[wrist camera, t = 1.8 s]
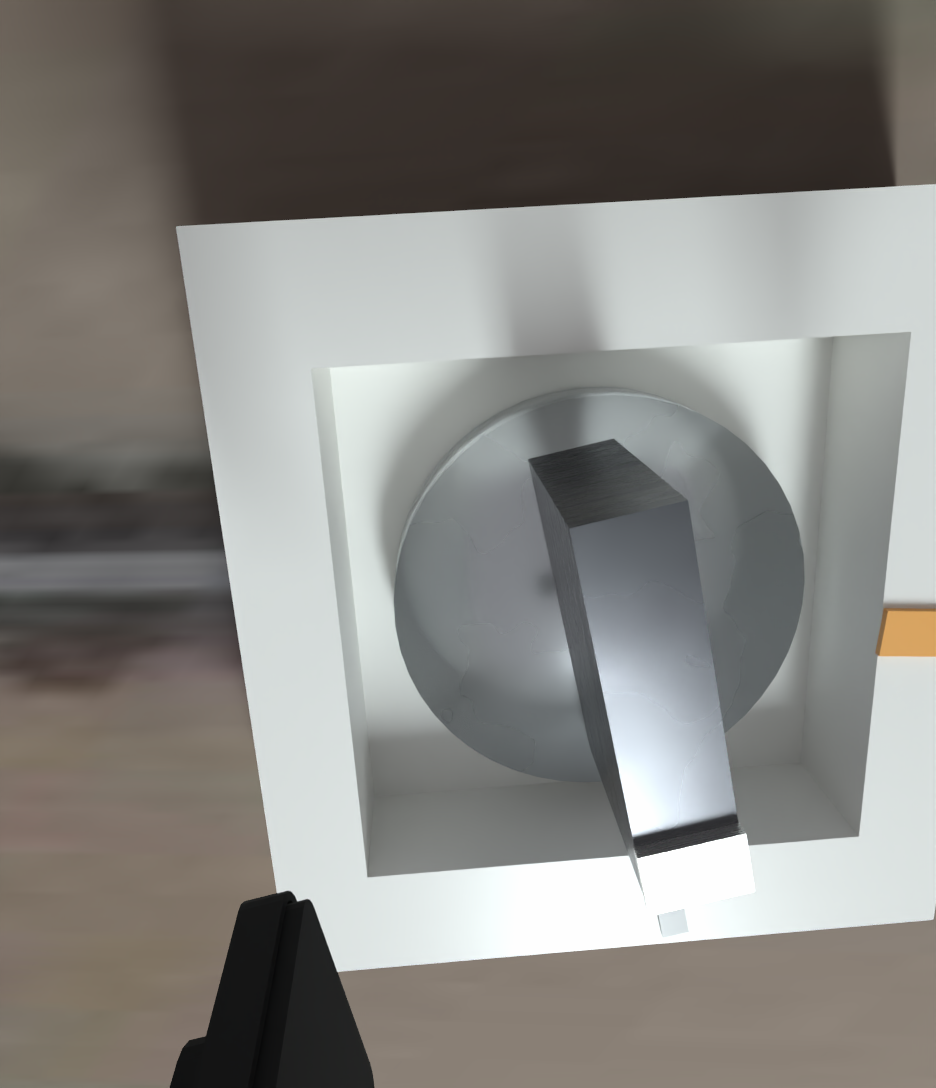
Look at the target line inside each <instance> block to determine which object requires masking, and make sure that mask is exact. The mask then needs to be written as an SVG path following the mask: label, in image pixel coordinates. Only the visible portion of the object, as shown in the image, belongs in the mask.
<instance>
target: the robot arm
mask: <svg viewBox="0 0 936 1088" xmlns="http://www.w3.org/2000/svg"><path fill="white" fill-rule="evenodd" d="M170 1088H374V1080H373V1074H372V1069H371V1066H370V1062H369V1059H368V1056H367V1054H366V1051H365V1048H364V1045H363V1042H362V1040H361V1037H360V1034H359V1031H358V1028H357V1026H356V1023H355V1020H354V1017H353V1014H352V1012H351V1009H350V1006H349V1003H348V1000H347V998H346V995H345V992H344V989H343V986H342V984H341V981H340V978H339V975H338V972H337V970H336V967H335V964H334V961H333V958H332V956H331V953H330V950H329V947H328V945H327V942H326V939H325V936H324V933H323V931H322V928H321V925H320V922H319V919H318V917H317V914H316V911H315V908H314V906H313V904H312V902H311V901H310V900H309V899H305V900H301V901H297V900H296V897H295V895H294V894H293V893H292V892H291V891H284V892H280V893H276V894H272V895H268V896H264V897H260V898H256V899H252V900H248V901H244V902H243V903H242V904H241V906H240V908H239V911H238V915H237V919H236V923H235V926H234V930H233V934H232V938H231V942H230V946H229V950H228V953H227V957H226V961H225V965H224V969H223V973H222V977H221V981H220V984H219V988H218V992H217V996H216V1000H215V1004H214V1008H213V1011H212V1015H211V1019H210V1023H209V1027H208V1031H207V1035H206V1036H205V1037H201V1038H197V1039H193V1040H189V1041H188V1043H187V1044H186V1045H185V1046H184V1047H183V1049H182V1051H181V1054H180V1056H179V1059H178V1061H177V1064H176V1068H175V1071H174V1075H173V1078H172V1082H171V1085H170Z"/></svg>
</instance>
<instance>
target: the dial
mask: <svg viewBox="0 0 936 1088" xmlns="http://www.w3.org/2000/svg"><path fill="white" fill-rule="evenodd" d="M804 582H805V575H804V554H803V549H802V543H801V538H800V533H799V528H798V526H797V523H796V520H795V517H794V514H793V511H792V508H791V505H790V503H789V501H788V500H787V498H786V496H785V494H784V492H783V490H782V488H781V486H780V484H779V482H778V481H777V480H776V478H775V477H774V475H773V474H772V473H771V471H770V470H769V468H768V467H767V466H766V464H765V463H764V462H763V461H762V460H761V459H760V458H759V457H758V455H757V454H756V453H755V452H754V451H753V450H752V449H751V448H750V447H749V446H748V445H747V444H746V443H745V442H743V441H742V440H741V439H739V438H738V437H737V436H735V435H734V434H733V433H732V432H730V431H729V430H728V429H726V428H725V427H723V426H722V425H720V424H718V423H716V422H715V421H713V420H711V419H709V418H707V417H706V416H704V415H702V414H700V413H698V412H696V411H694V410H692V409H690V408H688V407H686V406H684V405H681V404H679V403H677V402H674V401H671V400H669V399H666V398H664V397H661V396H658V395H655V394H651V393H647V392H643V391H638V390H634V389H628V388H617V387H607V386H599V387H577V388H571V389H565V390H560V391H554V392H549V393H546V394H543V395H540V396H537V397H533V398H530V399H527V400H524V401H522V402H520V403H518V404H515V405H513V406H511V407H509V408H507V409H505V410H502V411H500V412H499V413H497V414H495V415H494V416H492V417H491V418H489V419H487V420H486V421H484V422H483V423H481V424H480V425H478V426H477V427H475V428H474V429H473V430H472V431H471V432H469V433H468V434H467V435H466V436H464V437H463V438H462V439H461V440H460V441H458V442H457V443H456V444H455V445H454V446H453V447H452V448H451V450H450V451H449V452H448V453H447V454H446V455H445V456H444V457H443V458H442V459H441V460H440V461H439V462H438V464H437V465H436V467H435V468H434V469H433V471H432V472H431V474H430V475H429V476H428V478H427V479H426V481H425V482H424V483H423V485H422V487H421V489H420V491H419V493H418V495H417V497H416V498H415V500H414V502H413V504H412V506H411V508H410V511H409V514H408V517H407V519H406V522H405V525H404V528H403V530H402V535H401V540H400V544H399V549H398V553H397V564H396V576H395V589H394V615H395V628H396V632H397V637H398V642H399V647H400V651H401V654H402V657H403V659H404V662H405V665H406V668H407V670H408V673H409V675H410V677H411V679H412V681H413V683H414V685H415V687H416V688H417V690H418V692H419V694H420V696H421V697H422V699H423V700H424V701H425V703H426V704H427V705H428V707H429V708H430V710H431V711H432V712H433V714H434V715H435V716H436V717H437V718H438V719H439V720H440V721H441V722H442V723H443V724H444V725H445V727H446V728H447V729H448V730H449V731H450V732H451V733H452V734H454V735H455V736H456V737H458V738H459V739H460V740H461V741H463V742H464V743H465V744H466V745H468V746H469V747H470V748H472V749H473V750H475V751H477V752H478V753H480V754H482V755H483V756H485V757H487V758H488V759H490V760H492V761H494V762H497V763H499V764H501V765H503V766H506V767H508V768H510V769H512V770H515V771H519V772H522V773H526V774H529V775H532V776H536V777H540V778H546V779H552V780H558V781H570V782H600V781H602V783H603V786H604V789H605V791H606V794H607V797H608V800H609V802H610V805H611V808H612V811H613V813H614V816H615V819H616V822H617V825H618V827H619V830H620V833H621V836H622V838H623V841H624V844H625V847H626V849H627V852H628V855H629V858H630V860H631V863H632V866H633V869H634V871H635V874H636V877H637V880H638V883H639V885H640V888H641V891H642V894H643V897H644V902H645V905H646V908H647V911H648V914H649V916H651V915H656V914H660V913H664V912H669V911H673V910H677V909H682V908H686V907H690V906H695V905H699V904H703V903H708V902H712V901H716V900H721V899H725V898H729V897H734V896H738V895H742V894H747V893H751V892H755V888H754V881H753V875H752V868H751V862H750V855H749V849H748V842H747V836H746V833H745V831H744V829H743V828H742V826H741V824H740V823H738V817H737V810H736V804H735V798H734V791H733V785H732V778H731V772H730V766H729V759H728V753H727V746H726V740H725V733H726V732H727V731H728V730H729V729H730V728H731V727H733V726H734V725H735V724H736V723H737V722H738V721H739V720H740V719H741V718H743V717H744V716H745V715H746V714H747V712H748V711H749V710H750V709H751V708H752V707H753V706H754V705H755V703H756V702H757V701H758V700H759V699H760V698H761V697H762V695H763V694H764V692H765V691H766V689H767V688H768V687H769V685H770V684H771V682H772V681H773V679H774V678H775V676H776V675H777V673H778V671H779V669H780V667H781V665H782V663H783V661H784V659H785V658H786V656H787V654H788V651H789V649H790V646H791V643H792V641H793V638H794V635H795V633H796V630H797V626H798V622H799V617H800V613H801V609H802V603H803V593H804Z"/></svg>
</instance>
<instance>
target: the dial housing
mask: <svg viewBox="0 0 936 1088" xmlns="http://www.w3.org/2000/svg"><path fill="white" fill-rule="evenodd" d="M176 230H177V237H178V244H179V250H180V257H181V263H182V270H183V277H184V283H185V290H186V296H187V303H188V309H189V316H190V323H191V329H192V336H193V342H194V349H195V356H196V362H197V369H198V375H199V382H200V389H201V395H202V402H203V408H204V415H205V422H206V428H207V435H208V441H209V448H210V454H211V461H212V468H213V474H214V481H215V487H216V494H217V501H218V507H219V514H220V520H221V527H222V534H223V540H224V547H225V553H226V560H227V567H228V573H229V580H230V586H231V593H232V599H233V606H234V613H235V619H236V626H237V632H238V639H239V646H240V652H241V659H242V665H243V672H244V679H245V685H246V692H247V698H248V705H249V712H250V718H251V725H252V731H253V738H254V744H255V751H256V758H257V764H258V771H259V777H260V784H261V791H262V797H263V804H264V810H265V817H266V824H267V830H268V837H269V843H270V850H271V857H272V863H273V870H274V876H275V883H276V889H277V893H280V892H284V891H291V892H292V893H293V894H294V895H295V897H296V900H297V901H301V900H305V899H309V900H310V901H311V902H312V904H313V906H314V908H315V911H316V914H317V917H318V919H319V922H320V925H321V928H322V931H323V933H324V936H325V939H326V942H327V945H328V947H329V950H330V953H331V956H332V958H333V961H334V964H335V967H336V970H337V972H340V971H351V970H362V969H374V968H385V967H397V966H408V965H420V964H431V963H443V962H454V961H466V960H477V959H489V958H500V957H511V956H523V955H534V954H546V953H557V952H569V951H580V950H592V949H603V948H615V947H626V946H638V945H649V944H660V943H672V942H683V941H695V940H706V939H718V938H729V937H741V936H752V935H764V934H775V933H787V932H798V931H809V930H821V929H832V928H844V927H855V926H867V925H878V924H890V923H901V922H913V921H924V920H933V919H934V912H935V905H936V184H932V185H914V186H896V187H878V188H860V189H842V190H823V191H805V192H787V193H769V194H751V195H733V196H715V197H697V198H679V199H661V200H643V201H625V202H607V203H589V204H571V205H552V206H534V207H516V208H498V209H480V210H462V211H444V212H426V213H408V214H390V215H372V216H354V217H336V218H318V219H299V220H281V221H263V222H245V223H227V224H209V225H191V226H176ZM599 386H607V387H617V388H628V389H634V390H638V391H643V392H647V393H651V394H655V395H658V396H661V397H664V398H666V399H669V400H671V401H674V402H677V403H679V404H681V405H684V406H686V407H688V408H690V409H692V410H694V411H696V412H698V413H700V414H702V415H704V416H706V417H707V418H709V419H711V420H713V421H715V422H716V423H718V424H720V425H722V426H723V427H725V428H726V429H728V430H729V431H730V432H732V433H733V434H734V435H735V436H737V437H738V438H739V439H741V440H742V441H743V442H745V443H746V444H747V445H748V446H749V447H750V448H751V449H752V450H753V451H754V452H755V453H756V454H757V455H758V457H759V458H760V459H761V460H762V461H763V462H764V463H765V464H766V466H767V467H768V468H769V470H770V471H771V473H772V474H773V475H774V477H775V478H776V480H777V481H778V482H779V484H780V486H781V488H782V490H783V492H784V494H785V496H786V498H787V500H788V501H789V503H790V505H791V508H792V511H793V514H794V517H795V520H796V523H797V526H798V528H799V533H800V538H801V543H802V549H803V554H804V575H805V582H804V593H803V603H802V609H801V613H800V617H799V622H798V626H797V630H796V633H795V635H794V638H793V641H792V643H791V646H790V649H789V651H788V654H787V656H786V658H785V659H784V661H783V663H782V665H781V667H780V669H779V671H778V673H777V675H776V676H775V678H774V679H773V681H772V682H771V684H770V685H769V687H768V688H767V689H766V691H765V692H764V694H763V695H762V697H761V698H760V699H759V700H758V701H757V702H756V703H755V705H754V706H753V707H752V708H751V709H750V710H749V711H748V712H747V714H746V715H745V716H744V717H743V718H741V719H740V720H739V721H738V722H737V723H736V724H735V725H734V726H733V727H731V728H730V729H729V730H728V731H727V732H726V733H725V740H726V746H727V753H728V759H729V766H730V772H731V778H732V785H733V791H734V798H735V804H736V810H737V817H738V823H740V824H741V826H742V828H743V829H744V831H745V833H746V836H747V842H748V849H749V855H750V862H751V868H752V875H753V881H754V888H755V892H751V893H747V894H742V895H738V896H734V897H729V898H725V899H721V900H716V901H712V902H708V903H703V904H699V905H695V906H690V907H686V908H682V909H677V910H673V911H669V912H664V913H660V914H656V915H651V916H649V914H648V911H647V908H646V905H645V902H644V897H643V894H642V891H641V888H640V885H639V883H638V880H637V877H636V874H635V871H634V869H633V866H632V863H631V860H630V858H629V855H628V852H627V849H626V847H625V844H624V841H623V838H622V836H621V833H620V830H619V827H618V825H617V822H616V819H615V816H614V813H613V811H612V808H611V805H610V802H609V800H608V797H607V794H606V791H605V789H604V786H603V783H602V781H600V782H570V781H558V780H552V779H546V778H540V777H536V776H532V775H529V774H526V773H522V772H519V771H515V770H512V769H510V768H508V767H506V766H503V765H501V764H499V763H497V762H494V761H492V760H490V759H488V758H487V757H485V756H483V755H482V754H480V753H478V752H477V751H475V750H473V749H472V748H470V747H469V746H468V745H466V744H465V743H464V742H463V741H461V740H460V739H459V738H458V737H456V736H455V735H454V734H452V733H451V732H450V731H449V730H448V729H447V728H446V727H445V725H444V724H443V723H442V722H441V721H440V720H439V719H438V718H437V717H436V716H435V715H434V714H433V712H432V711H431V710H430V708H429V707H428V705H427V704H426V703H425V701H424V700H423V699H422V697H421V696H420V694H419V692H418V690H417V688H416V687H415V685H414V683H413V681H412V679H411V677H410V675H409V673H408V670H407V668H406V665H405V662H404V659H403V657H402V654H401V651H400V647H399V642H398V637H397V632H396V628H395V615H394V589H395V576H396V564H397V553H398V549H399V544H400V540H401V535H402V530H403V528H404V525H405V522H406V519H407V517H408V514H409V511H410V508H411V506H412V504H413V502H414V500H415V498H416V497H417V495H418V493H419V491H420V489H421V487H422V485H423V483H424V482H425V481H426V479H427V478H428V476H429V475H430V474H431V472H432V471H433V469H434V468H435V467H436V465H437V464H438V462H439V461H440V460H441V459H442V458H443V457H444V456H445V455H446V454H447V453H448V452H449V451H450V450H451V448H452V447H453V446H454V445H455V444H456V443H457V442H458V441H460V440H461V439H462V438H463V437H464V436H466V435H467V434H468V433H469V432H471V431H472V430H473V429H474V428H475V427H477V426H478V425H480V424H481V423H483V422H484V421H486V420H487V419H489V418H491V417H492V416H494V415H495V414H497V413H499V412H500V411H502V410H505V409H507V408H509V407H511V406H513V405H515V404H518V403H520V402H522V401H524V400H527V399H530V398H533V397H537V396H540V395H543V394H546V393H549V392H554V391H560V390H565V389H571V388H577V387H599Z"/></svg>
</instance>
